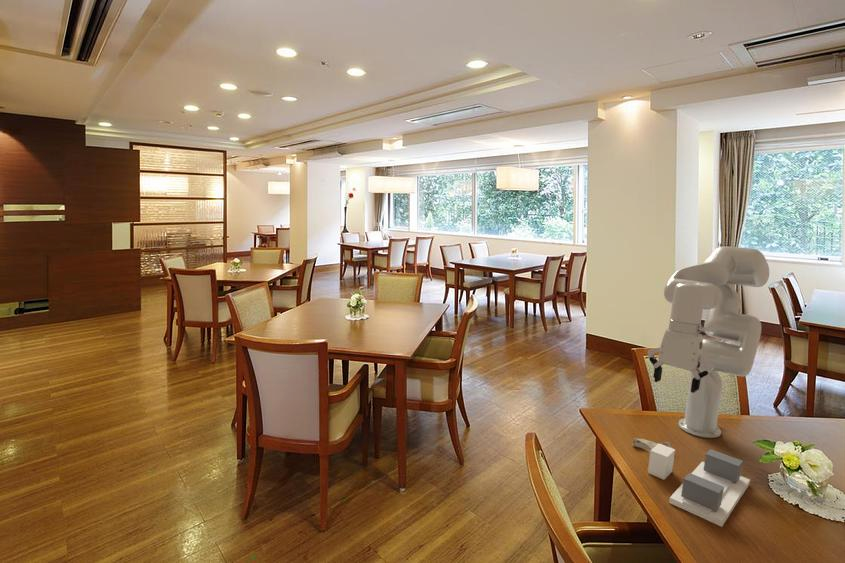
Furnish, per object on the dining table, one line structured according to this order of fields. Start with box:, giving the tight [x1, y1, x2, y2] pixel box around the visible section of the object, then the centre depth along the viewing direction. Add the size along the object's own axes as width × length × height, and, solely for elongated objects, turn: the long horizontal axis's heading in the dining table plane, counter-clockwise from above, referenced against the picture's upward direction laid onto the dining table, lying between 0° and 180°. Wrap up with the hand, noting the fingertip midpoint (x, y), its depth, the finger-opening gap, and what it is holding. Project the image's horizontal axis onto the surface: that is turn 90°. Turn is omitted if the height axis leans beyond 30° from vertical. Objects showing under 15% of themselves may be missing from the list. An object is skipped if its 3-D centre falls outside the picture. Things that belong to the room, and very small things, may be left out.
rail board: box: [668, 449, 751, 527], centre depth 127 cm, size 26×12×7 cm, turn 134°
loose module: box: [647, 443, 676, 480], centre depth 136 cm, size 6×4×7 cm
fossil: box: [631, 437, 672, 453], centre depth 150 cm, size 7×11×3 cm, turn 48°
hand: (675, 386), depth 136 cm, fingers open, 9 cm apart
